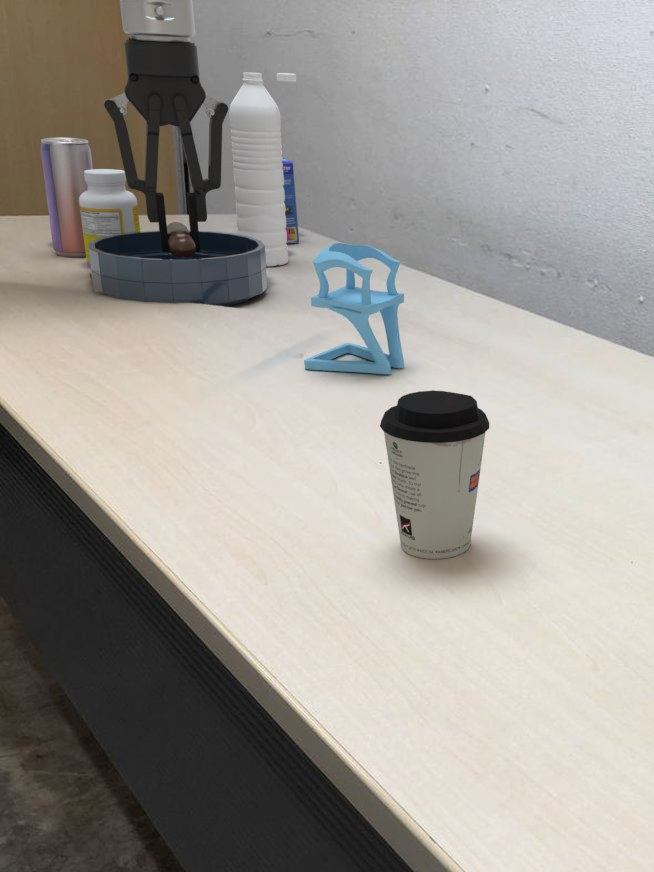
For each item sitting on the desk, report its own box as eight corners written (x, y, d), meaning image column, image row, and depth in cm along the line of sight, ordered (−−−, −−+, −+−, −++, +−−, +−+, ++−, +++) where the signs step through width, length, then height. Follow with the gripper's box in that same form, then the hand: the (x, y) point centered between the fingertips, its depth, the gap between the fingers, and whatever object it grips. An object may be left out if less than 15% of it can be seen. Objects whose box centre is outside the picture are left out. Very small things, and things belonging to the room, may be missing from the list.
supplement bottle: (123, 266, 148) (112, 166, 143) (156, 274, 145) (146, 172, 140) (76, 273, 142) (63, 169, 137) (109, 282, 139) (97, 175, 134)
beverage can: (43, 254, 151) (28, 139, 146) (74, 247, 157) (61, 136, 151) (82, 259, 150) (68, 143, 145) (111, 252, 156) (99, 140, 150)
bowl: (57, 301, 128) (50, 249, 126) (157, 271, 146) (152, 225, 144) (212, 319, 125) (208, 266, 123) (295, 286, 143) (292, 239, 141)
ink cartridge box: (239, 234, 174) (232, 137, 169) (274, 232, 177) (268, 137, 172) (265, 245, 167) (258, 144, 162) (300, 243, 170) (295, 144, 165)
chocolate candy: (167, 245, 139) (160, 222, 138) (190, 240, 140) (184, 218, 139) (174, 264, 128) (167, 240, 127) (200, 259, 129) (193, 235, 128)
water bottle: (238, 267, 152) (225, 71, 143) (239, 257, 158) (226, 69, 148) (305, 267, 154) (296, 75, 145) (304, 258, 160) (295, 72, 151)
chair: (376, 381, 108) (373, 257, 103) (302, 368, 110) (296, 246, 106) (416, 362, 115) (415, 245, 110) (346, 350, 117) (342, 235, 113)
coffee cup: (386, 570, 71) (383, 421, 67) (378, 525, 77) (375, 386, 73) (496, 563, 73) (498, 417, 69) (479, 520, 79) (481, 384, 75)
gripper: (82, 35, 119) (108, 257, 127) (238, 43, 125) (253, 253, 134) (82, 34, 125) (107, 245, 134) (231, 41, 132) (246, 242, 140)
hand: (180, 249), depth 134 cm, fingers closed on chocolate candy, 3 cm apart
